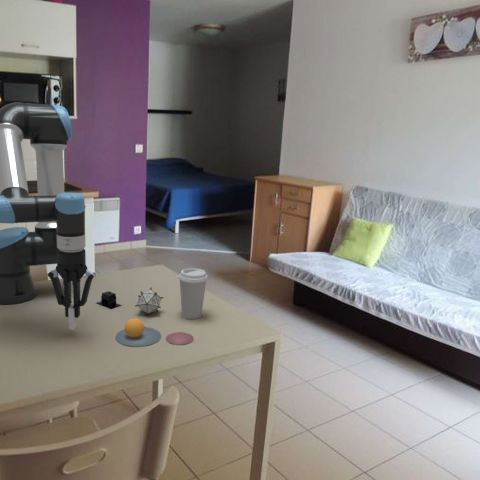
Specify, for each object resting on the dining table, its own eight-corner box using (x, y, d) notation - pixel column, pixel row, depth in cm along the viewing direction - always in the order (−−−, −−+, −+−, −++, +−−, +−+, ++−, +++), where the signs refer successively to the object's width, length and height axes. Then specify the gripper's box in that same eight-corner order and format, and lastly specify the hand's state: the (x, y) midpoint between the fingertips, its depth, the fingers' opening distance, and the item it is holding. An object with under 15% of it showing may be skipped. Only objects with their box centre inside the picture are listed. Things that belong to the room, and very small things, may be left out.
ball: (118, 328, 135) (135, 320, 135) (123, 320, 141) (139, 312, 140) (128, 344, 137) (145, 336, 136) (132, 335, 142) (148, 327, 141)
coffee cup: (199, 308, 163) (201, 266, 160) (210, 318, 155) (212, 275, 152) (173, 311, 159) (174, 268, 156) (183, 322, 151) (184, 277, 147)
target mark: (110, 345, 133) (110, 344, 133) (121, 326, 145) (121, 325, 145) (157, 348, 133) (157, 347, 133) (163, 328, 146) (163, 327, 146)
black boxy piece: (129, 308, 161) (129, 295, 160) (112, 314, 156) (112, 301, 154) (105, 298, 168) (105, 286, 167) (87, 304, 162) (87, 291, 161)
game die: (147, 321, 159) (151, 292, 163) (166, 318, 155) (170, 289, 159) (127, 314, 153) (132, 284, 157) (146, 311, 148) (151, 281, 152)
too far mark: (164, 344, 136) (164, 343, 136) (167, 332, 143) (167, 331, 143) (192, 345, 136) (192, 345, 136) (194, 333, 144) (194, 333, 144)
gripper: (42, 251, 129) (45, 331, 134) (90, 253, 129) (91, 334, 135) (52, 244, 136) (55, 320, 142) (98, 246, 136) (99, 323, 142)
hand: (72, 327), depth 138 cm, fingers closed
